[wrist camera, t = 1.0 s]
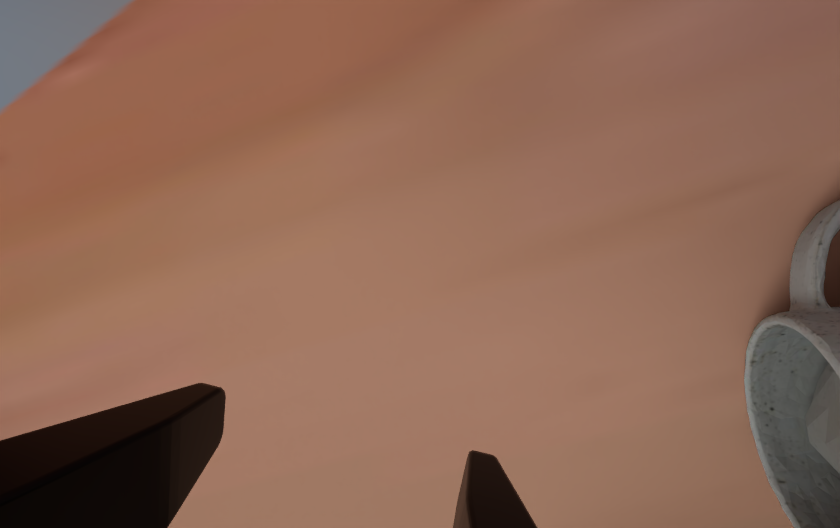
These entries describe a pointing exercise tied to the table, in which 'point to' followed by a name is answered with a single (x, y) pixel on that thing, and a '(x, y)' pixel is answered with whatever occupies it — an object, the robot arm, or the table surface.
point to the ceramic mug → (800, 386)
